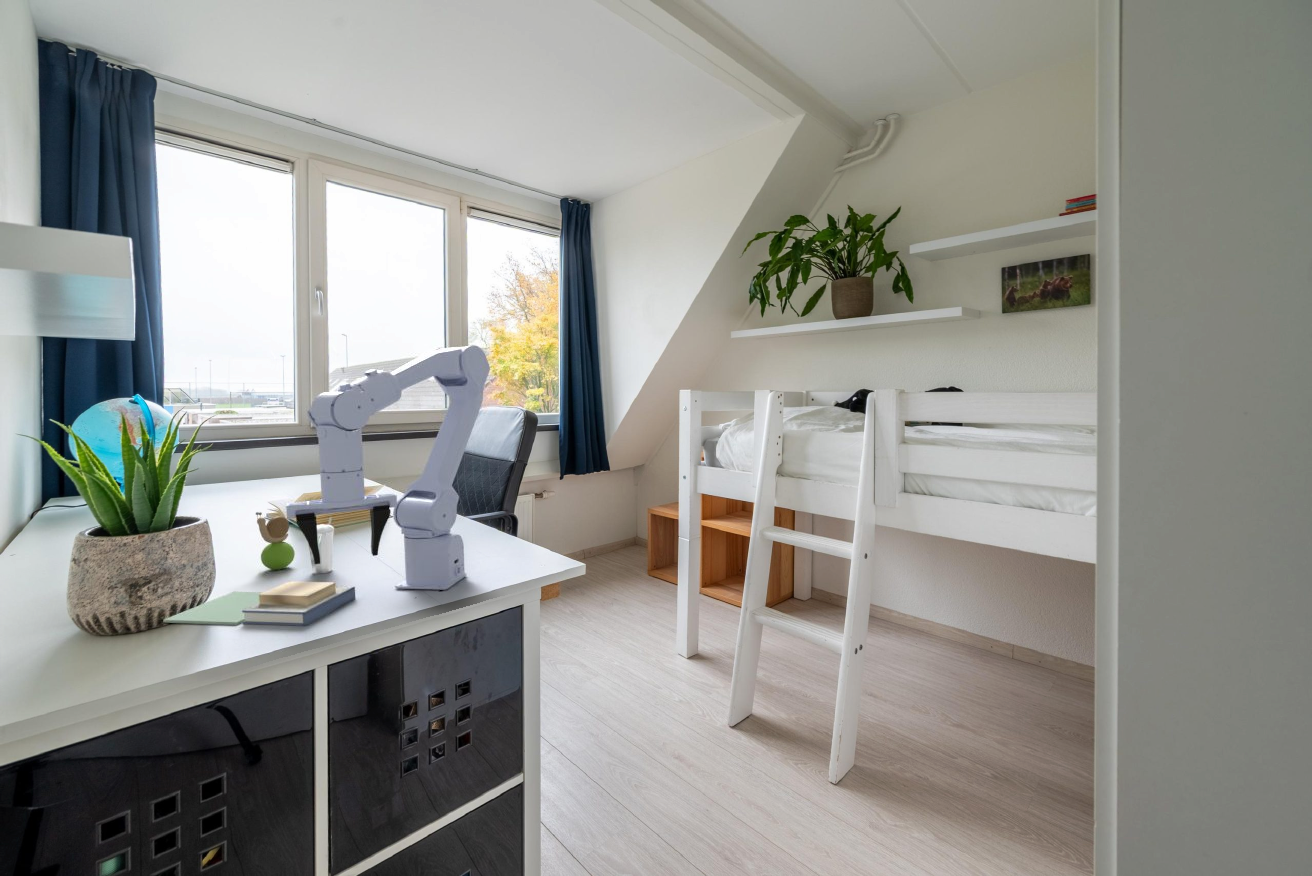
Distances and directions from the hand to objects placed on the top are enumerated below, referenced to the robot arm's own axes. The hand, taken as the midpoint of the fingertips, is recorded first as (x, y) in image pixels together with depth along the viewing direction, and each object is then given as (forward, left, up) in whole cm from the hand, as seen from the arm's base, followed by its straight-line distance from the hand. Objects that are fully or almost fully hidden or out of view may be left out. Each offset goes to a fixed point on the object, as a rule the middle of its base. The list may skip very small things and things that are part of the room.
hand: (346, 558), depth 83 cm
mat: (+19, 0, -8) cm, 21 cm away
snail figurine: (+29, -19, -9) cm, 36 cm away
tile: (+8, 0, -6) cm, 10 cm away
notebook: (+8, 0, -8) cm, 11 cm away
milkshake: (+19, -19, -9) cm, 28 cm away
